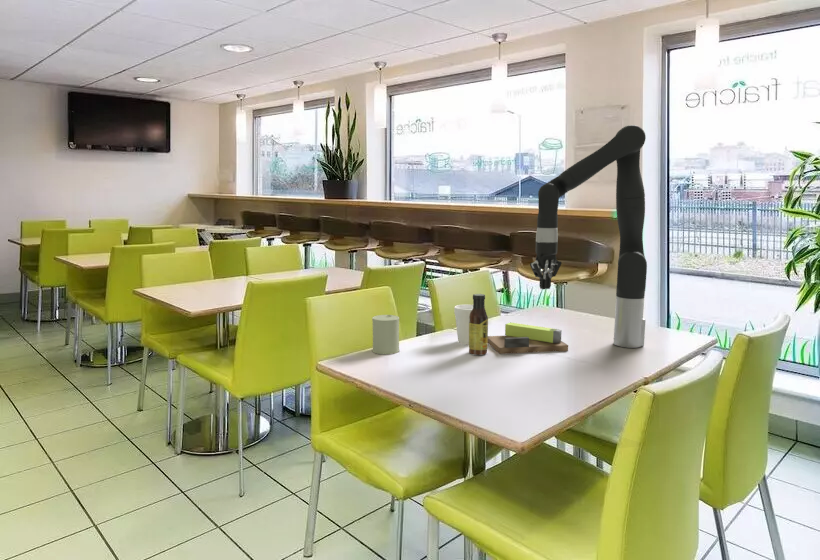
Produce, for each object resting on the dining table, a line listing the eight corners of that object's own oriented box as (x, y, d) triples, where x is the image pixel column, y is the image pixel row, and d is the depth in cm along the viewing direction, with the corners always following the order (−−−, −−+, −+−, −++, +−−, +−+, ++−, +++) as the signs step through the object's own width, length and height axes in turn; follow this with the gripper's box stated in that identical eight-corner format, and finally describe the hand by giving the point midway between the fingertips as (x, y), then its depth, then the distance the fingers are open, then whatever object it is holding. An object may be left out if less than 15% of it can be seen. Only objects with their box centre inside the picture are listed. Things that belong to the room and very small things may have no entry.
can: (404, 349, 196) (404, 314, 194) (391, 355, 187) (391, 320, 186) (380, 345, 200) (380, 312, 198) (367, 352, 191) (367, 317, 189)
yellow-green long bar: (562, 341, 197) (563, 329, 196) (558, 343, 194) (558, 332, 193) (510, 333, 208) (510, 322, 208) (505, 335, 205) (505, 324, 205)
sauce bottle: (486, 356, 187) (488, 296, 184) (467, 355, 188) (468, 296, 185) (488, 351, 193) (489, 293, 190) (469, 350, 194) (470, 292, 191)
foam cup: (450, 344, 202) (450, 308, 200) (458, 338, 210) (458, 303, 208) (476, 347, 198) (477, 310, 196) (483, 340, 206) (484, 305, 205)
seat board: (549, 339, 209) (549, 325, 208) (568, 350, 193) (568, 336, 193) (486, 341, 205) (486, 328, 204) (500, 353, 190) (500, 339, 189)
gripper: (553, 239, 208) (551, 285, 211) (524, 240, 202) (523, 288, 204) (568, 240, 202) (566, 288, 204) (539, 242, 195) (537, 292, 198)
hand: (545, 288), depth 204 cm, fingers closed
